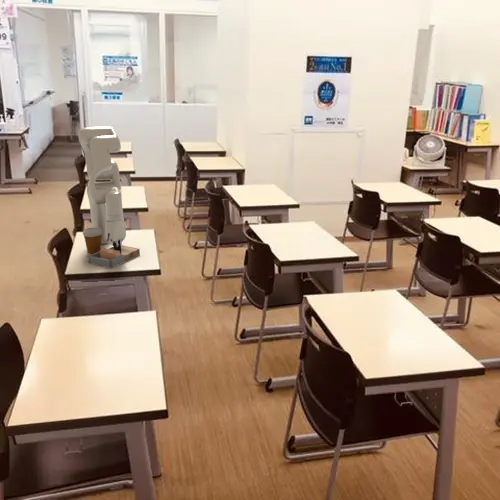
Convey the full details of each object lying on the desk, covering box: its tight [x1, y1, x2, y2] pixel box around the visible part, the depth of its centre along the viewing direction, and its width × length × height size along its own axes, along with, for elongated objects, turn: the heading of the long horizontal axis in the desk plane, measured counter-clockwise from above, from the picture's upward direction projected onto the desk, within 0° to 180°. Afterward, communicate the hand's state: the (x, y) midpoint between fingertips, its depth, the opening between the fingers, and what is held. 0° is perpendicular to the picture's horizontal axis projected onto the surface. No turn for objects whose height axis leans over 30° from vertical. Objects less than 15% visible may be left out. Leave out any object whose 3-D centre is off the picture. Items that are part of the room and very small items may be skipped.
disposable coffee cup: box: [82, 227, 102, 255], centre depth 270 cm, size 10×10×12 cm
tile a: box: [100, 247, 111, 260], centre depth 262 cm, size 5×5×3 cm
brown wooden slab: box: [108, 244, 140, 262], centre depth 269 cm, size 11×14×3 cm
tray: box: [87, 251, 126, 269], centre depth 260 cm, size 10×14×4 cm
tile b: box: [107, 249, 120, 260], centre depth 259 cm, size 5×5×3 cm
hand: (117, 253), depth 262 cm, fingers closed
